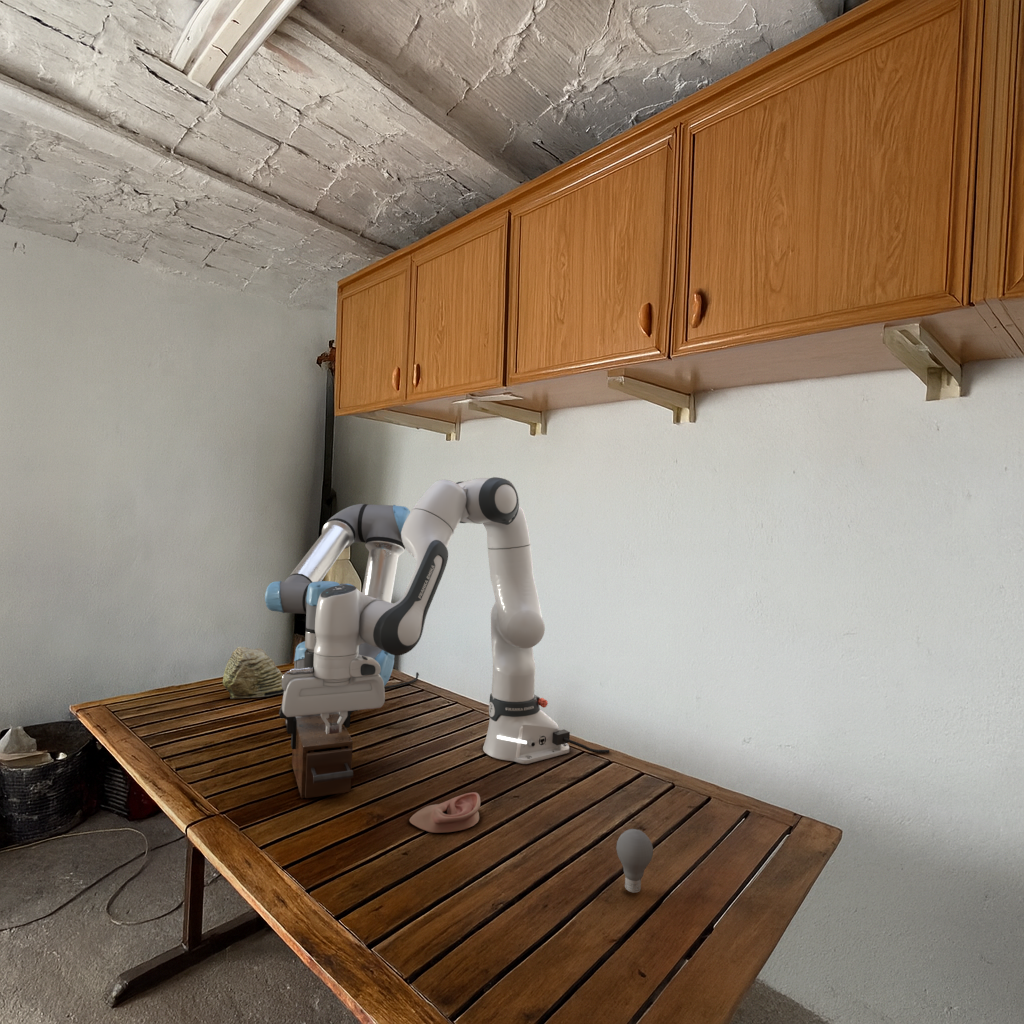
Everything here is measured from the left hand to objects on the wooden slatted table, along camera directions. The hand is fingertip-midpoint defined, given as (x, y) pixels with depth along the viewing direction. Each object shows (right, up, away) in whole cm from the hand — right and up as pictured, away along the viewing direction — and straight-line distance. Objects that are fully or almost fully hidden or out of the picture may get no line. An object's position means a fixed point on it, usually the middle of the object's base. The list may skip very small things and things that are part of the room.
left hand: (318, 744), depth 147 cm
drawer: (+4, -5, -9) cm, 11 cm away
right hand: (+8, +9, -17) cm, 21 cm away
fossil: (-36, -3, +51) cm, 62 cm away
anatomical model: (+32, -8, -20) cm, 39 cm away
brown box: (+2, -6, -4) cm, 7 cm away
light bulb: (+65, -10, -41) cm, 78 cm away
